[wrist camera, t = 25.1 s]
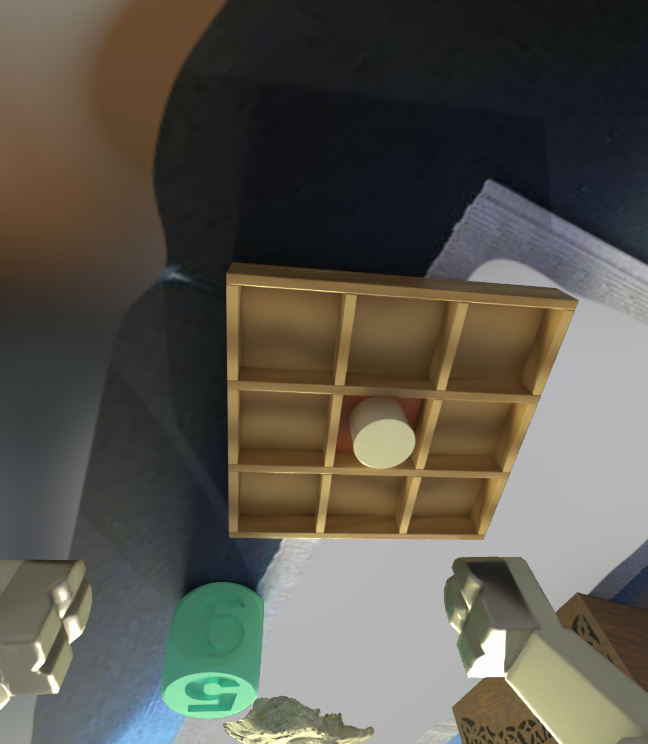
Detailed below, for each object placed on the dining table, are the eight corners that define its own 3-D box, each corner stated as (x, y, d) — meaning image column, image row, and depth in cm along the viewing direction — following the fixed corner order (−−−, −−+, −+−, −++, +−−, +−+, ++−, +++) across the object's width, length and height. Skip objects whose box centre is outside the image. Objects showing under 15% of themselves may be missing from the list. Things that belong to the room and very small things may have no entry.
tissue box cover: (577, 592, 46) (645, 697, 37) (669, 616, 50) (751, 717, 41) (451, 707, 56) (481, 810, 48) (535, 720, 60) (577, 818, 51)
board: (231, 261, 26) (225, 272, 24) (556, 288, 29) (579, 300, 27) (232, 513, 37) (228, 538, 34) (472, 517, 39) (483, 540, 37)
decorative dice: (183, 628, 44) (162, 720, 37) (181, 579, 40) (159, 670, 33) (259, 629, 45) (254, 718, 38) (265, 581, 41) (260, 670, 34)
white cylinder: (352, 394, 31) (358, 417, 28) (410, 397, 31) (421, 420, 29) (344, 442, 33) (349, 468, 30) (399, 444, 33) (409, 469, 31)
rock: (372, 723, 57) (375, 747, 55) (320, 754, 61) (321, 777, 59) (259, 687, 50) (257, 712, 48) (208, 723, 54) (204, 749, 52)
